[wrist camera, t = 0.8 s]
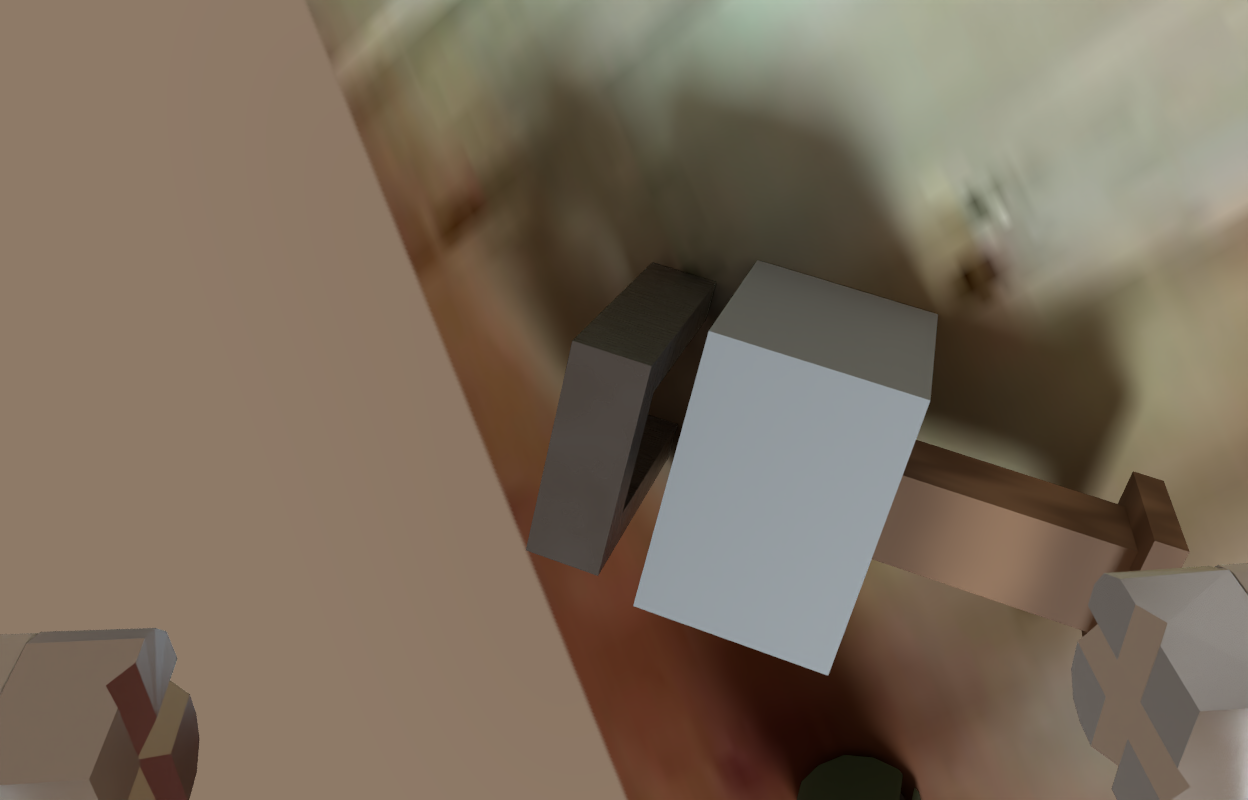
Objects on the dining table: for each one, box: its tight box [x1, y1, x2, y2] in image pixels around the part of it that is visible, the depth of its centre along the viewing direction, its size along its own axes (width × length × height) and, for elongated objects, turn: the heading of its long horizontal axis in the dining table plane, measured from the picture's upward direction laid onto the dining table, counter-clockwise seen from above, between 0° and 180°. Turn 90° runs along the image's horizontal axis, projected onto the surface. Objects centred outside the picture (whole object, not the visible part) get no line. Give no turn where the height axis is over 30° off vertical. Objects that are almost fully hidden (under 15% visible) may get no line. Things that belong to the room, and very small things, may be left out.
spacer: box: [526, 262, 716, 576], centre depth 48 cm, size 3×9×12 cm, turn 167°
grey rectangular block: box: [633, 260, 938, 676], centre depth 47 cm, size 8×12×10 cm, turn 167°
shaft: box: [872, 440, 1189, 636], centre depth 46 cm, size 18×6×6 cm, turn 77°
